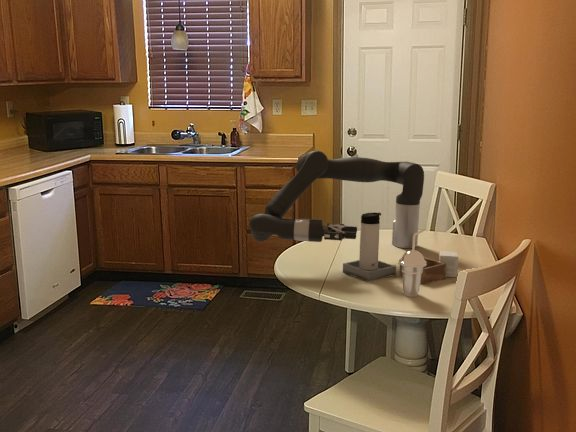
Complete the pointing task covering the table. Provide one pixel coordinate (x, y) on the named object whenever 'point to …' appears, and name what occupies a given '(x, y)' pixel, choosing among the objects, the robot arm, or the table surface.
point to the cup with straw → (412, 269)
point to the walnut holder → (432, 271)
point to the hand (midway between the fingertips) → (356, 232)
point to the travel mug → (369, 241)
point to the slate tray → (382, 271)
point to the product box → (449, 262)
